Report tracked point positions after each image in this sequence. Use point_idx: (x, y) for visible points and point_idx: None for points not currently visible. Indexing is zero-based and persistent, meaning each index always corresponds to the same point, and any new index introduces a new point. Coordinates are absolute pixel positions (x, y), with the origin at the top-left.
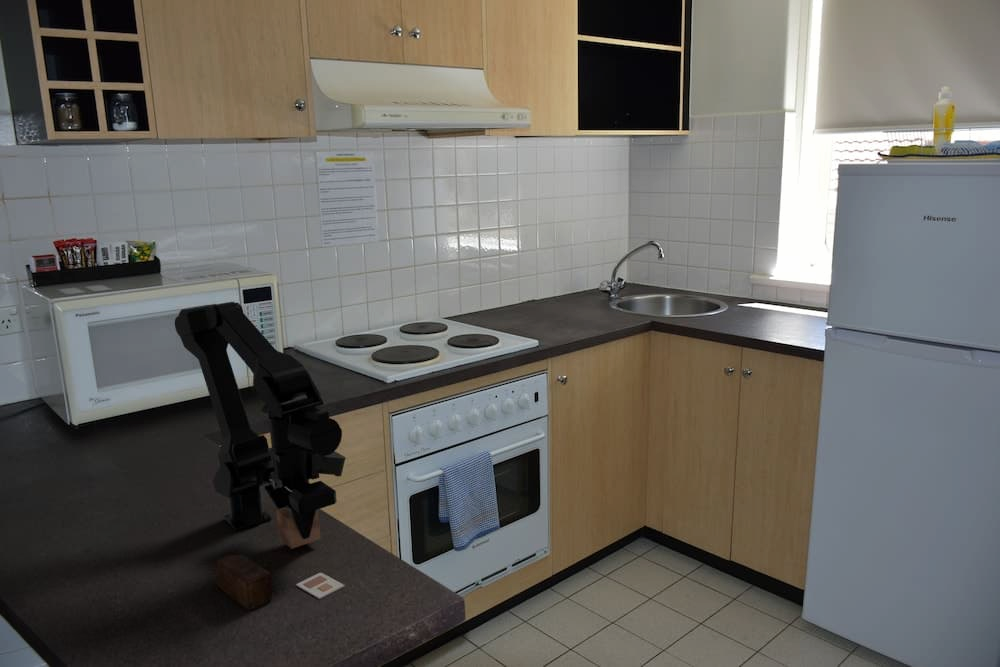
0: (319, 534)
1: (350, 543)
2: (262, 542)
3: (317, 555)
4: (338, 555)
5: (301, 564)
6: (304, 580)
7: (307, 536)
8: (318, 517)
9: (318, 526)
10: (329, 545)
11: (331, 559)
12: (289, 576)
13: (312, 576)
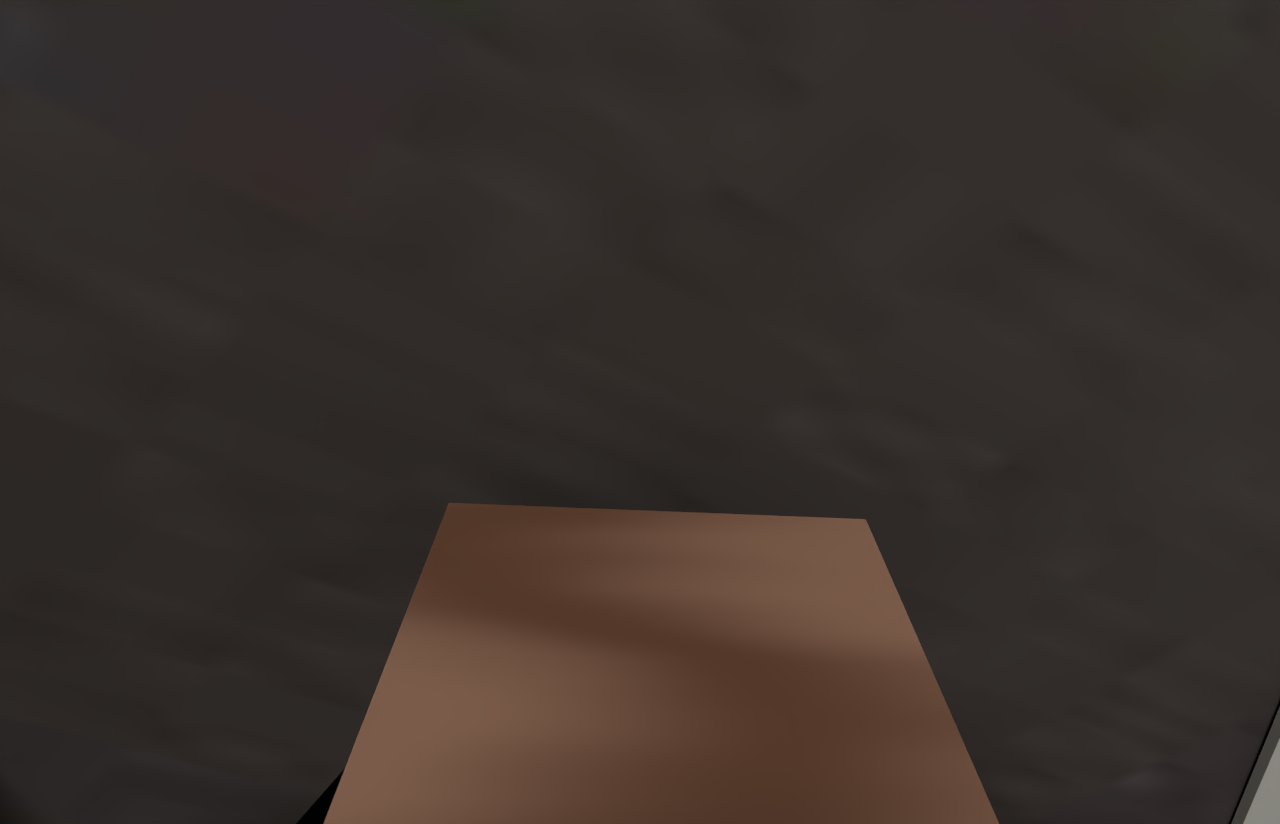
0: (885, 575)
1: (1103, 151)
2: (315, 759)
3: (972, 563)
4: (1194, 421)
5: (982, 710)
6: (1259, 803)
7: None
8: (995, 822)
9: (926, 677)
10: (892, 380)
11: (1184, 510)
12: (1059, 819)
13: (1276, 749)
